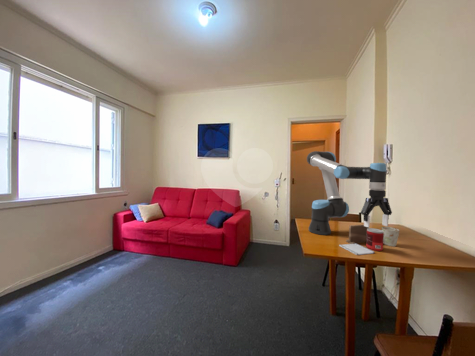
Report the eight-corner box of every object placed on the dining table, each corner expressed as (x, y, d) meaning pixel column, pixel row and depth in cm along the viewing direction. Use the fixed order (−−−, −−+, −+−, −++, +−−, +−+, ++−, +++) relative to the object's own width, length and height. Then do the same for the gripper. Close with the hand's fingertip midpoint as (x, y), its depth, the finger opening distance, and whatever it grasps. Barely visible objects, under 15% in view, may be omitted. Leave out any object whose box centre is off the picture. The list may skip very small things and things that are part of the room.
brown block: (346, 241, 114) (346, 224, 114) (363, 240, 118) (364, 223, 117) (352, 244, 110) (353, 227, 109) (370, 243, 113) (371, 225, 113)
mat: (339, 245, 107) (339, 244, 107) (355, 244, 110) (355, 243, 110) (356, 255, 96) (356, 253, 96) (374, 253, 98) (374, 251, 98)
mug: (402, 247, 107) (402, 231, 106) (378, 245, 109) (378, 229, 109) (392, 242, 115) (393, 227, 114) (370, 240, 117) (371, 225, 117)
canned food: (385, 249, 104) (386, 230, 103) (379, 252, 99) (380, 233, 99) (369, 244, 110) (370, 227, 110) (363, 247, 106) (364, 229, 105)
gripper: (366, 190, 97) (364, 229, 97) (400, 190, 103) (399, 226, 103) (354, 189, 104) (352, 225, 105) (387, 189, 110) (385, 223, 110)
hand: (375, 226), depth 104 cm, fingers open, 13 cm apart
